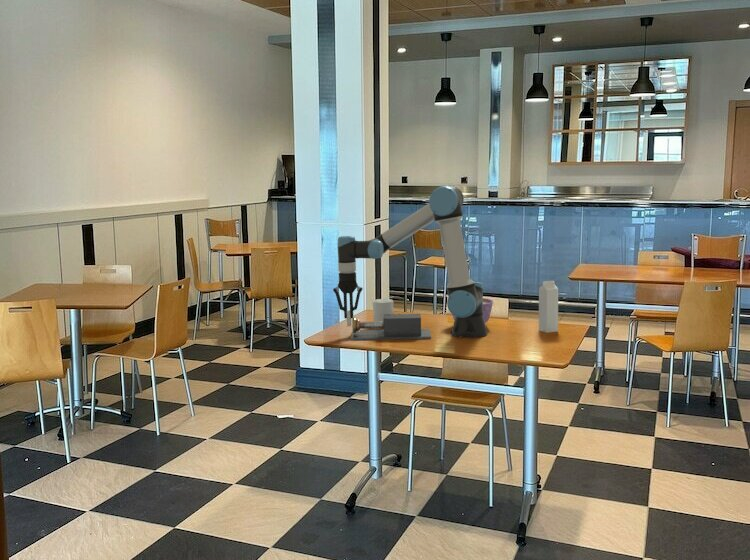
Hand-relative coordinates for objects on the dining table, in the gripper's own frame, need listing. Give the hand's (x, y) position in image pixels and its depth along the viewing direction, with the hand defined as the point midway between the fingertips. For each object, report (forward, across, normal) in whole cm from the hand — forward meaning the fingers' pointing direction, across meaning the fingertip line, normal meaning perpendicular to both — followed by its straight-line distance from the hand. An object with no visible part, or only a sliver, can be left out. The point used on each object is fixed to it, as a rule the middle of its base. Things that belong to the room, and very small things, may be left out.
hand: (349, 325), depth 318 cm
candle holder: (+5, -14, -20) cm, 25 cm away
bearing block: (+5, -18, 0) cm, 19 cm away
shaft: (+3, -12, 0) cm, 13 cm away
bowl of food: (+5, -55, -18) cm, 58 cm away
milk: (+5, -87, -4) cm, 87 cm away
